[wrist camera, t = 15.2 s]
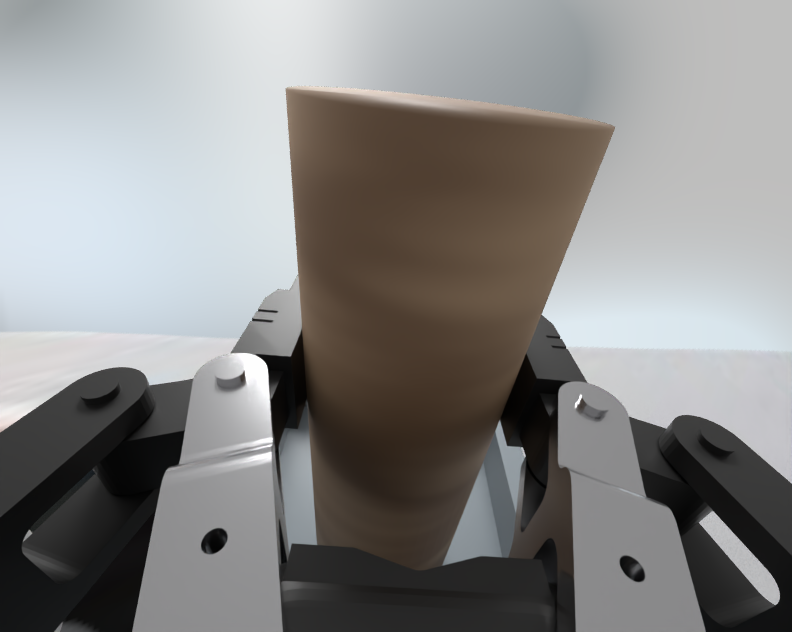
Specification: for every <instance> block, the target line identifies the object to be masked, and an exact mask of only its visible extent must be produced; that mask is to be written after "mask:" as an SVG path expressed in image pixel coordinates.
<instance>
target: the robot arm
mask: <svg viewBox="0 0 792 632" xmlns="http://www.w3.org/2000/svg"><path fill="white" fill-rule="evenodd" d="M306 400H307V392H306V378H305V363H304V349H303V334H302V319H301V305H300V290H299V275H297V277H296V279H295V281H294V283H293V284H292V286H291V288H290V290H284V289H278V290H276V291H275V292H273V293H272V294H270V295H269V296H267V297H266V298H265V299H264V300H263V302H262V304H261V305H260V307H259V308H258V311H257V312H256V313H255V315H254V317H253V318H252V321H250V323H249V324H248V326H247V328H246V330H245V331H244V333H243V334H242V336H241V337H240V339H239V341H238V342H237V344H236V345H235V347H234V349H233V350H232V352H231V353H230V354H226V355H223V356H220V357H217V358H215V359H213V360H211V361H209V362H207V363H206V364H205V365H203V366H202V367H201V368H200V369H199V370H198V371H197V373H196V374H195V376H194V378H193V379H189V380H184V381H178V382H171V383H164V384H157V385H150V386H149V383H148V381H147V378H146V376H145V375H144V374H143V373H142V372H141V371H139V370H136V369H133V368H126V367H118V368H110V369H105V370H101V371H98V372H95V373H92V374H89V375H87V376H85V377H83V378H81V379H79V380H77V381H75V382H74V383H72V384H71V385H69V386H68V387H66V388H65V389H63V390H62V391H60V392H59V393H58V394H56V395H55V396H53V397H52V398H50V399H49V400H47V401H46V402H44V403H43V404H42V405H40V406H39V407H37V408H36V409H34V410H33V411H31V412H30V413H28V414H27V415H25V416H24V417H23V418H21V419H20V420H18V421H17V422H15V423H14V424H12V425H11V426H9V427H8V428H6V429H5V430H4V431H2V432H1V433H0V632H54V631H55V630H56V629H57V628H58V627H59V625H60V624H61V623H62V622H63V621H64V619H65V618H66V617H67V616H68V615H69V613H70V612H71V611H72V610H73V609H74V607H75V606H76V605H77V604H78V603H79V601H80V600H81V599H82V598H83V596H84V595H85V594H86V593H87V592H88V590H89V589H90V588H91V587H92V586H93V584H94V583H95V582H96V581H97V580H98V578H99V577H100V576H101V575H102V574H103V572H104V571H105V570H106V569H107V568H108V566H109V565H110V564H111V563H112V561H113V560H114V559H115V558H116V557H117V555H118V554H119V553H120V552H121V551H122V549H123V548H124V547H125V546H126V545H127V543H128V542H129V541H130V540H131V539H132V537H133V536H134V535H135V534H136V533H137V531H138V530H139V529H140V528H141V526H142V525H143V524H144V523H145V522H146V520H147V519H148V518H149V517H150V516H151V514H152V513H153V512H154V511H155V510H156V514H155V519H154V524H153V529H152V534H151V539H150V544H149V549H148V554H147V559H146V564H145V570H144V575H143V580H142V585H141V590H140V595H139V600H138V605H137V610H136V615H135V620H134V626H133V631H132V632H792V484H791V483H790V482H789V481H788V480H787V479H786V478H784V477H783V476H782V475H781V474H780V473H779V472H777V471H776V470H775V469H774V468H773V467H772V466H770V465H769V464H768V463H767V462H766V461H765V460H763V459H762V458H761V457H760V456H759V455H758V454H756V453H755V452H754V451H753V450H752V449H751V448H749V447H748V446H747V445H746V444H745V443H744V442H742V441H741V440H740V439H739V438H738V437H736V436H735V435H734V434H732V433H731V432H730V431H728V430H727V429H725V428H723V427H722V426H720V425H718V424H716V423H714V422H712V421H709V420H707V419H704V418H701V417H697V416H691V415H682V416H678V417H677V418H675V419H674V420H673V422H672V423H671V424H670V425H669V426H668V428H667V429H666V428H662V427H659V426H656V425H653V424H650V423H647V422H644V421H640V420H637V419H634V418H631V417H629V416H628V413H627V411H626V409H625V408H624V406H623V405H622V404H621V403H620V402H619V400H618V399H616V398H615V397H614V396H613V395H611V394H610V393H609V392H607V391H605V390H604V389H602V388H600V387H598V386H595V385H592V384H589V383H587V381H586V380H585V378H584V376H583V374H582V373H581V371H580V369H579V368H578V366H577V364H576V363H575V361H574V359H573V357H572V356H571V354H570V352H569V351H568V349H566V346H565V344H564V342H563V341H562V339H560V335H559V334H558V332H557V330H556V329H555V327H554V325H553V324H552V323H551V322H549V321H548V320H547V319H546V318H545V317H544V316H542V315H541V317H540V319H539V322H538V324H537V327H536V329H535V332H534V334H533V337H532V340H531V342H530V345H529V347H528V350H527V352H526V355H525V357H524V360H523V362H522V365H521V367H520V370H519V372H518V375H517V378H516V380H515V383H514V385H513V388H512V390H511V393H510V395H509V398H508V400H507V403H506V405H505V408H504V410H503V413H502V416H501V418H500V422H501V426H502V429H503V433H504V437H505V440H506V444H507V446H512V447H523V448H524V451H525V455H526V457H525V459H524V461H523V463H522V465H521V469H520V479H519V489H518V498H517V508H516V518H515V527H514V536H513V542H512V546H511V550H510V553H509V556H508V558H506V557H490V556H479V557H475V558H471V559H467V560H463V561H459V562H455V563H451V564H447V565H443V566H439V567H435V568H431V569H427V570H414V569H411V568H408V567H405V566H403V565H400V564H397V563H394V562H392V561H389V560H386V559H384V558H381V557H378V556H376V555H373V554H370V553H368V552H365V551H362V550H360V549H357V548H354V547H340V546H325V545H310V544H294V543H292V545H291V549H290V553H289V545H288V537H287V528H286V518H285V506H284V495H283V483H282V472H281V460H280V449H279V444H280V441H281V438H282V435H283V432H284V429H285V428H290V429H298V427H299V423H300V420H301V417H302V413H303V410H304V407H305V403H306ZM92 469H93V470H94V472H95V473H96V474H95V475H94V476H93V477H91V478H90V479H89V480H88V481H87V482H86V483H85V484H84V485H83V486H82V487H81V488H80V489H79V490H78V491H77V492H76V493H75V494H73V495H72V496H71V497H70V498H69V499H68V500H67V501H66V502H65V503H64V504H63V505H62V506H61V507H60V508H59V509H58V510H56V511H55V512H54V513H53V514H52V515H51V516H50V517H49V518H48V519H47V520H46V521H45V522H44V523H43V524H42V525H41V526H40V527H38V528H37V529H36V530H35V531H34V532H33V533H32V534H31V535H30V536H29V537H28V538H27V539H26V540H25V541H24V542H23V540H24V538H25V536H26V534H27V532H28V531H29V529H30V528H31V526H32V525H33V524H34V523H35V522H36V521H37V520H38V519H39V518H40V517H41V516H42V515H43V514H44V513H45V512H46V511H47V510H48V509H49V508H50V507H52V506H53V505H54V504H55V503H56V502H57V501H58V500H59V499H60V498H61V497H62V496H63V495H65V494H66V493H67V492H68V491H69V490H70V489H71V488H72V487H73V486H74V485H75V484H76V483H78V482H79V481H80V480H81V479H82V478H83V477H84V476H85V475H86V474H87V473H88V472H89V471H91V470H92ZM711 511H714V512H715V513H716V514H717V515H718V516H719V518H720V519H721V520H722V521H723V522H724V523H725V524H726V525H727V526H728V527H729V528H730V529H731V531H732V532H733V533H734V534H735V535H736V536H737V537H738V538H739V539H740V540H741V541H742V543H743V544H744V545H745V546H746V547H747V548H748V549H749V550H750V551H751V552H752V553H753V555H754V556H755V557H756V558H757V559H758V560H759V561H760V562H761V563H762V564H763V565H764V567H765V568H766V569H767V570H768V571H769V572H770V573H771V575H772V576H773V578H774V579H775V581H776V583H777V585H778V588H779V591H780V600H779V602H778V604H777V605H774V604H772V603H771V602H769V601H768V600H766V599H765V598H764V597H763V596H762V595H761V594H760V593H759V592H758V591H757V590H756V589H755V587H754V586H753V585H752V584H751V583H750V582H749V580H748V579H747V578H746V577H745V576H744V575H743V573H742V572H741V571H740V570H739V569H738V568H737V567H736V565H735V564H734V563H733V562H732V561H731V560H730V558H729V557H728V556H727V555H726V554H725V553H724V551H723V550H722V549H721V548H720V547H719V546H718V545H717V543H716V542H715V541H714V540H713V539H712V538H711V536H710V535H709V534H708V533H707V532H706V531H705V529H704V528H703V527H702V526H701V525H700V524H699V522H700V521H701V520H702V519H703V518H704V517H706V516H707V515H708V514H709V513H710V512H711Z"/></svg>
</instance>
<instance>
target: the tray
mask: <svg viewBox="0 0 792 632" xmlns="http://www.w3.org/2000/svg"><path fill="white" fill-rule="evenodd" d="M279 449H280V460H281V472H282V483H283V495H284V506H285V518H286V528H287V537H288V545H289V553H290V549H291V545H292V543H294V544H310V545H317V539H316V524H315V509H314V495H313V480H312V465H311V451H310V436H309V422H308V407H307V400H306V403H305V407H304V410H303V413H302V417H301V420H300V423H299V427H298V429H290V428H285V429H284V432H283V435H282V438H281V441H280V444H279ZM523 461H524V456H523V453H522V450H521V447H512V446H507V444H506V440H505V437H504V433H503V429H502V426H501V422H500V421H499V423H498V426H497V428H496V431H495V433H494V436H493V438H492V441H491V443H490V446H489V448H488V451H487V454H486V456H485V459H484V461H483V464H482V466H481V469H480V471H479V474H478V476H477V479H476V481H475V484H474V486H473V489H472V492H471V494H470V497H469V499H468V502H467V504H466V507H465V509H464V512H463V514H462V517H461V519H460V522H459V524H458V527H457V530H456V532H455V535H454V537H453V540H452V542H451V545H450V547H449V550H448V552H447V555H446V557H445V560H444V562H443V565H447V564H451V563H455V562H459V561H463V560H467V559H471V558H475V557H479V556H490V557H506V558H508V556H509V553H510V550H511V546H512V542H513V536H514V527H515V518H516V508H517V498H518V489H519V479H520V469H521V465H522V463H523ZM443 565H442V566H443Z"/></svg>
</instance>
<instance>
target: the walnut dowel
mask: <svg viewBox="0 0 792 632" xmlns="http://www.w3.org/2000/svg"><path fill="white" fill-rule="evenodd" d="M286 100H287V114H288V129H289V144H290V159H291V172H292V186H293V187H292V188H293V202H294V217H295V230H296V246H297V261H298V275H299V290H300V305H301V319H302V334H303V349H304V363H305V378H306V392H307V407H308V422H309V436H310V451H311V465H312V480H313V495H314V509H315V524H316V539H317V545H325V546H340V547H354V548H357V549H360V550H362V551H365V552H368V553H370V554H373V555H376V556H378V557H381V558H384V559H386V560H389V561H392V562H394V563H397V564H400V565H403V566H405V567H408V568H411V569H414V570H427V569H431V568H435V567H439V566H442V565H443V562H444V560H445V557H446V555H447V552H448V550H449V547H450V545H451V542H452V540H453V537H454V535H455V532H456V530H457V527H458V524H459V522H460V519H461V517H462V514H463V512H464V509H465V507H466V504H467V502H468V499H469V497H470V494H471V492H472V489H473V486H474V484H475V481H476V479H477V476H478V474H479V471H480V469H481V466H482V464H483V461H484V459H485V456H486V454H487V451H488V448H489V446H490V443H491V441H492V438H493V436H494V433H495V431H496V428H497V426H498V423H499V421H500V418H501V416H502V413H503V410H504V408H505V405H506V403H507V400H508V398H509V395H510V393H511V390H512V388H513V385H514V383H515V380H516V378H517V375H518V372H519V370H520V367H521V365H522V362H523V360H524V357H525V355H526V352H527V350H528V347H529V345H530V342H531V340H532V337H533V334H534V332H535V329H536V327H537V324H538V322H539V319H540V317H541V314H542V312H543V309H544V307H545V304H546V301H547V299H548V296H549V294H550V291H551V289H552V286H553V284H554V281H555V279H556V276H557V273H558V271H559V268H560V266H561V264H562V261H563V258H564V256H565V253H566V250H567V248H568V246H569V243H570V241H571V238H572V236H573V233H574V231H575V228H576V226H577V223H578V220H579V218H580V215H581V213H582V210H583V208H584V205H585V203H586V200H587V197H588V195H589V193H590V190H591V187H592V185H593V182H594V180H595V177H596V175H597V172H598V170H599V167H600V164H601V162H602V160H603V157H604V154H605V152H606V149H607V147H608V144H609V142H610V139H611V137H612V134H613V132H614V129H615V127H614V126H612V125H610V124H607V123H603V122H599V121H595V120H590V119H586V118H581V117H576V116H571V115H565V114H559V113H553V112H547V111H541V110H535V109H528V108H522V107H515V106H508V105H500V104H493V103H485V102H478V101H470V100H462V99H454V98H445V97H437V96H428V95H419V94H409V93H399V92H389V91H388V92H387V91H377V90H365V89H353V88H338V87H318V86H295V87H287V88H286Z"/></svg>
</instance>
